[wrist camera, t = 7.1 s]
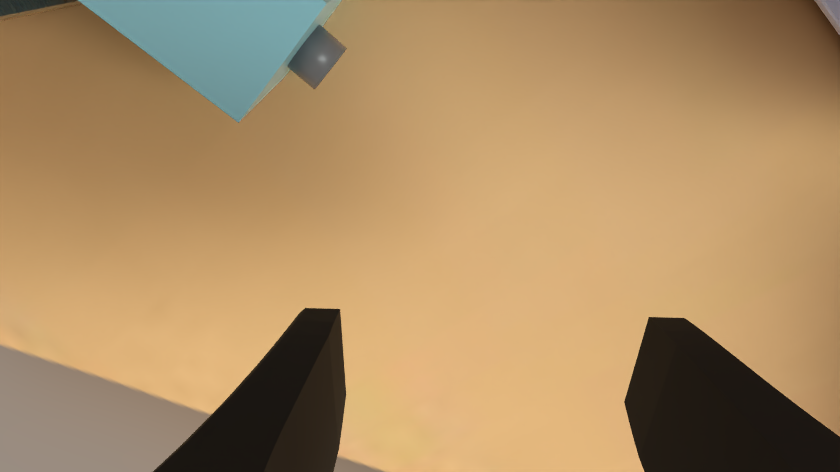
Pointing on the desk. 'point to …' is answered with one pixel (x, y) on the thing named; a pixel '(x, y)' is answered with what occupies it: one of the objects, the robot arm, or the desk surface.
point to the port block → (31, 7)
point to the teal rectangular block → (230, 43)
